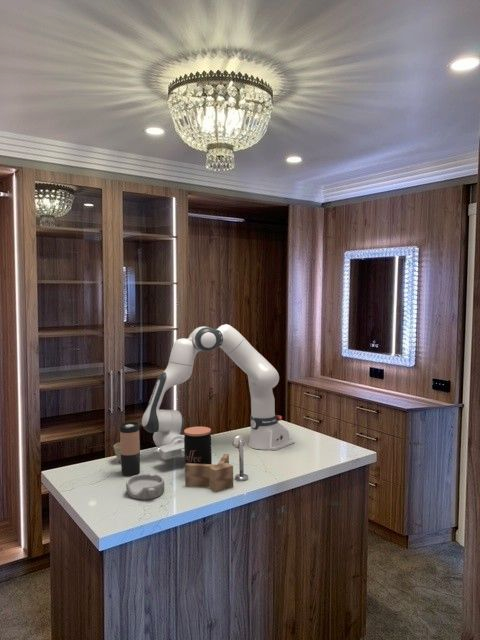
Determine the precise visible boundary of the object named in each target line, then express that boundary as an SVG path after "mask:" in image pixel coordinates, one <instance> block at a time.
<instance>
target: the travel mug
mask: <svg viewBox="0 0 480 640" xmlns="http://www.w3.org/2000/svg"><path fill="white" fill-rule="evenodd" d="M119 435H120V436H119V438H120V439H119V441H120V442H119V443H120V451H121V462H120V465H121V466H120V467H121V475H122V477H129V478H130V477H132V476H135V475H140V473H141V444H140V441H141V440H140V423H139V422H137V421H128V422H122V423H120V424H119Z"/></svg>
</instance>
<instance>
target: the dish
mask: <svg viewBox="0 0 480 640" xmlns="http://www.w3.org/2000/svg"><path fill="white" fill-rule="evenodd" d="M125 488H126V493H127V494H128V496H129V497H130V498H132V499H135V500H136V499H137V500H152V499H154V498H157V497H159V496H161V495H162V494H164V491H165V479H164V477H162V475H159V474H157V473H156V474H151V473H142V474H140V473H139V474H138V475H135V476H131V477H129V478H127V480H126V482H125Z"/></svg>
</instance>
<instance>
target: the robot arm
mask: <svg viewBox="0 0 480 640" xmlns="http://www.w3.org/2000/svg"><path fill="white" fill-rule="evenodd" d="M217 348H220V349H221V350H223V352H224V353H225V354H226V355H227V356H228V357H229V359H231V360H232V362H234V363H235V364H236V366H237V367H239V368H240V369H241V370H242V371H243V372H244V373H245V374H246V375H247V380H248V388H249V394H250V408H251V410H250V412H251V414H250V419H249V420H250V422H249V423H250V433H249V434H250V436H249V439H248V444H247V445H248V447H249V448H252V449H254V450H255V449H256V450H265V451H266V450H270V451H271V450H272V451H277V450H280V449H282V448H285V447H288V446H290V445H292V444H295V440H294V439H293V438H291V437H290V432H289V429H288V428H286V426H284V425H283V424H281V423H280V422H279V421H281V420H282V418H283V416H282V415H279V414H278V415H277V414H276V413H275V410H276V409H275V408H276V407H275V400H276V399H275V396H274V392H273V389H274V388H275V387H276V386H277V385H278V383H279V381H280V375H279V372H278V371H277V369H276V368H275V367H274V365H272V364H271V363H270V362H269V361H268V359H266V358H265V357H264V356H263V355H262V354H261V353H259V351H257V349H256V348H255V347H254V346H252V345H251V343H250V342H249V341H248V340H247V339H246V337H244V336H243V335H242V334H241V333H240V332H239V331H238V330H237V329H236V328H234V327H233V326H231V325H230V324H227V323H225V324H222V325H220V326H218V328H212V327H209V326H197V327H195V328H194V329H193V330H191V332H190V333H189V335H187V336H186V338H178V339H176V340H175V341H174V342H173V346H172V348H171V352H170V356H169V358H168V359H169V360H168V364H167V366H166V368H165V370H164V371H163V372H161V373H160V374H159V375H158V377H157V379H156V381H155V384H154V387H153V389H152V393H151V395H150V397H149V398H150V399H149V400H148V404H147V406H146V408H145V410H144V412H143V415H142V418H141V425H142V427H143V429H144V430H145V431H146V432H148V433H151V434H152V433H153V435H152V439H153V442H154V445H155V446H156V447H158V448H157V449H155V453H156V454H158V455H159V457H160V458H161V459H163V460H171V459H173V458H178V457H183V456H184V457H185V454H184V436H185V434H182V433H183V432H184V427H185V419H184V417H183V414H182V413H181V411H179V410H178V409H177V410H176V409H160V408H161V404H162V402H163V398H164V396H165V393H166V392H167V391H168V390H169V389H170V388H171V387H172V388H173V387H174V386H177V385H181V384H183V383H184V382H187V381H188V380H189V379H190V378H191V376H192V374H193V368H194V363H195V358H196V355H197V354H198V353H199V352H206V353H207V352H211V351H213V350H215V349H217ZM278 420H279V421H278Z"/></svg>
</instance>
